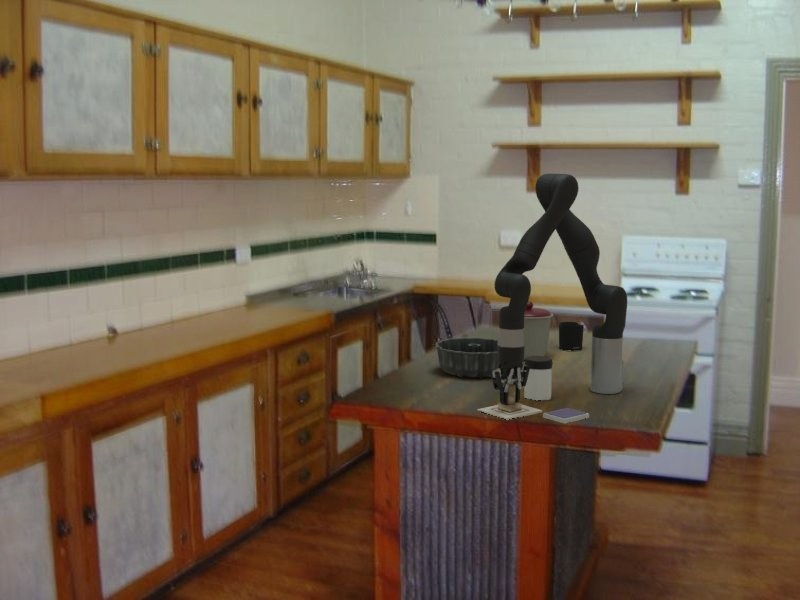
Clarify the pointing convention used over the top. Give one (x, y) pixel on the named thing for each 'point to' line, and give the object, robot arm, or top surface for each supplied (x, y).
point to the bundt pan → (468, 356)
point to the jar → (539, 378)
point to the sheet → (502, 414)
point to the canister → (536, 330)
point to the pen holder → (570, 336)
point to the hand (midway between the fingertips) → (509, 402)
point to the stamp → (510, 401)
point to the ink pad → (565, 415)
